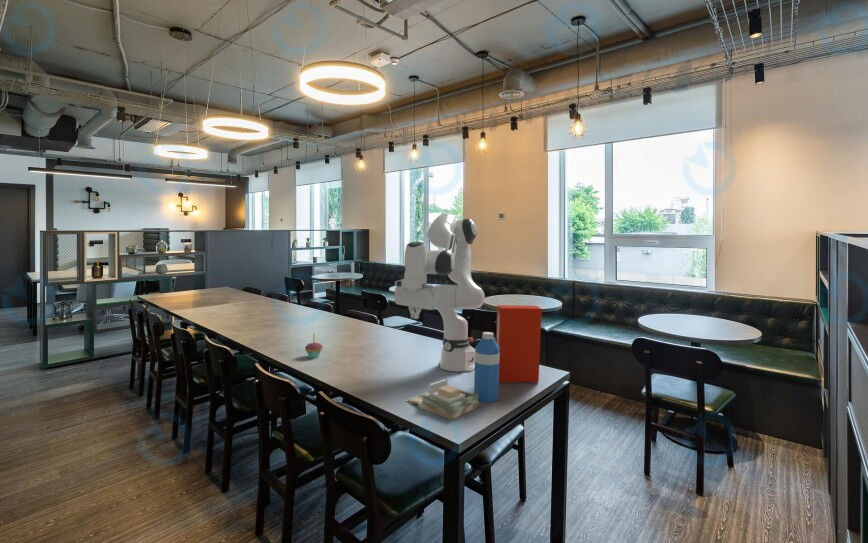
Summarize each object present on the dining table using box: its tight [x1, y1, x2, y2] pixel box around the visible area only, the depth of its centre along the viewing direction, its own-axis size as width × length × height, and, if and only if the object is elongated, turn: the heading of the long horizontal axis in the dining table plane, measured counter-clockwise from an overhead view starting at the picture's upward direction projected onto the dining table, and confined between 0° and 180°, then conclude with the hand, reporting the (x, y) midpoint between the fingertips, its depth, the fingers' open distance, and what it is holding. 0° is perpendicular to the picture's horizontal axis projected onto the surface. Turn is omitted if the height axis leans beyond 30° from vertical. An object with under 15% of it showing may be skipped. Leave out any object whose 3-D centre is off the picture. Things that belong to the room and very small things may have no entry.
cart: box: [428, 378, 465, 405], centre depth 147 cm, size 8×10×6 cm
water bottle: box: [473, 331, 500, 403], centre depth 157 cm, size 9×9×25 cm
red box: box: [495, 304, 543, 382], centre depth 177 cm, size 8×17×32 cm, turn 91°
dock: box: [407, 389, 480, 421], centre depth 151 cm, size 16×23×5 cm
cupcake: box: [304, 333, 324, 359], centre depth 207 cm, size 9×8×12 cm
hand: (414, 318), depth 163 cm, fingers closed
